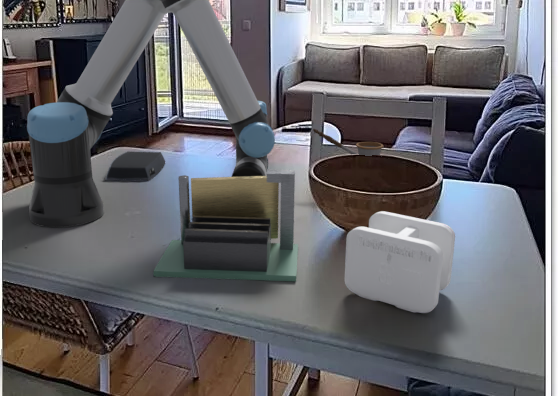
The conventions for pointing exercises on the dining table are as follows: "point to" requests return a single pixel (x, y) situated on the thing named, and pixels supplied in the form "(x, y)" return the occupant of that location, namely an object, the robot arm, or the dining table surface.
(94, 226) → the dining table surface
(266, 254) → the grey slotted rack
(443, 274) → the cable organizer
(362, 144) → the coffee pot
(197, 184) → the brass plate
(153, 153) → the external hard drive
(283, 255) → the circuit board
